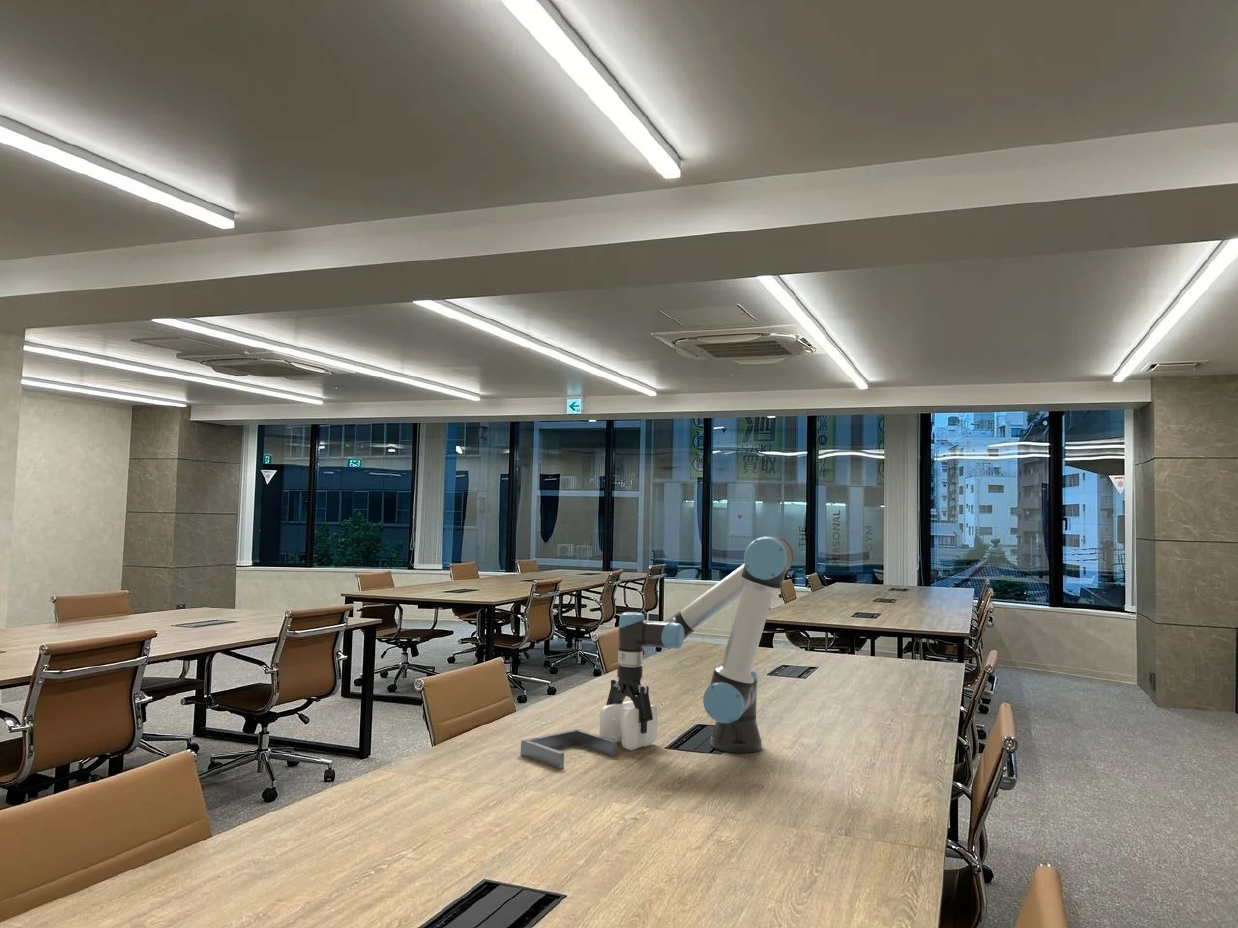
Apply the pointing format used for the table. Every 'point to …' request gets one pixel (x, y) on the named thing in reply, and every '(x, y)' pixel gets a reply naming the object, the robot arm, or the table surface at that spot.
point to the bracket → (546, 746)
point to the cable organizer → (626, 724)
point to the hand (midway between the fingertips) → (627, 739)
